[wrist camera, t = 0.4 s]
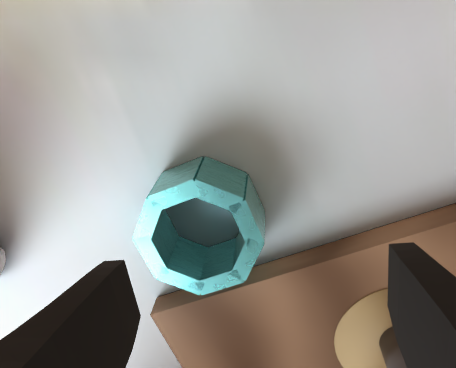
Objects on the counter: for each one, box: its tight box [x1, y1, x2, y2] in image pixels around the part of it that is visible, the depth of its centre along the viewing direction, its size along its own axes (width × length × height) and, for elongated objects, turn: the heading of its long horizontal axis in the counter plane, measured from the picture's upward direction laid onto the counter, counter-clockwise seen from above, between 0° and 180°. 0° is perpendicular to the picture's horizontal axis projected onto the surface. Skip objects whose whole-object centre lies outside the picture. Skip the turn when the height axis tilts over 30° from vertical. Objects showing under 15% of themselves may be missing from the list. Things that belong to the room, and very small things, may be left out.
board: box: [150, 203, 456, 368], centre depth 22 cm, size 18×12×4 cm, turn 114°
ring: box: [133, 156, 265, 295], centre depth 20 cm, size 6×6×3 cm
